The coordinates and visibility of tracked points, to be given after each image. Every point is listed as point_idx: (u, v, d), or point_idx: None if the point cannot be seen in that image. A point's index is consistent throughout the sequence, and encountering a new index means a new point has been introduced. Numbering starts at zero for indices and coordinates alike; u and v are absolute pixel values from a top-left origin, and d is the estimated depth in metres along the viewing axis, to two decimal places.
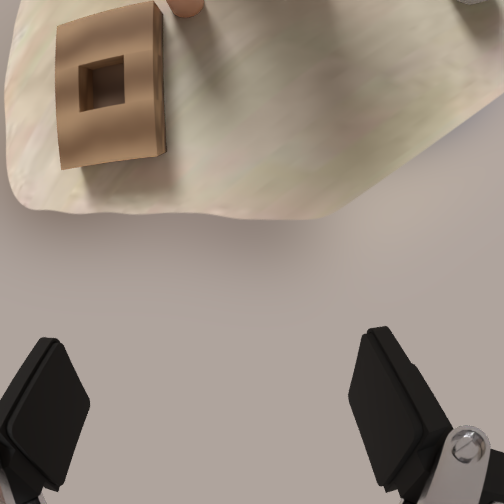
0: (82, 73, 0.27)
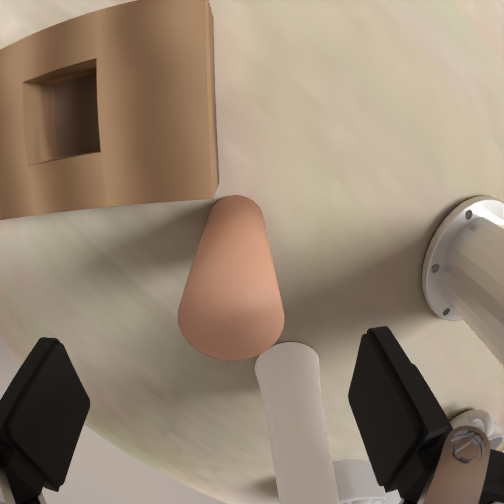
0: (92, 63, 0.14)
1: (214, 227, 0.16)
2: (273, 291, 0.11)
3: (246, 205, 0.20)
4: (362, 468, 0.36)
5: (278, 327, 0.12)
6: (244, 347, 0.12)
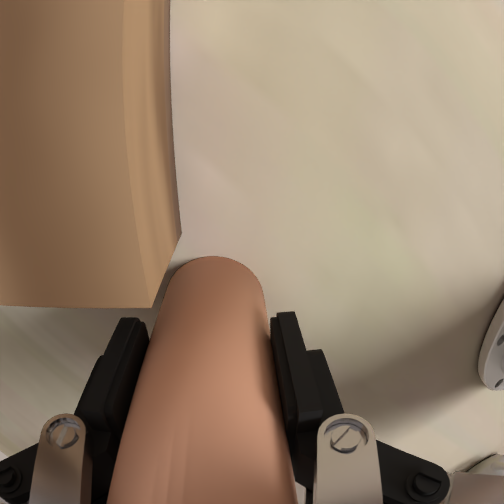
0: None
1: (155, 382, 0.06)
2: None
3: (231, 289, 0.10)
4: None
5: None
6: None
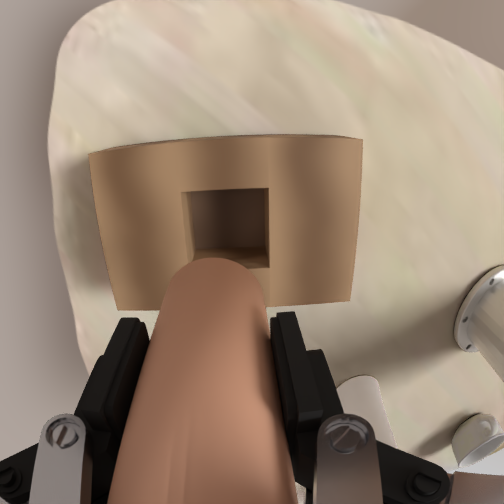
0: None
1: (155, 385, 0.06)
2: None
3: (231, 291, 0.10)
4: None
5: None
6: None
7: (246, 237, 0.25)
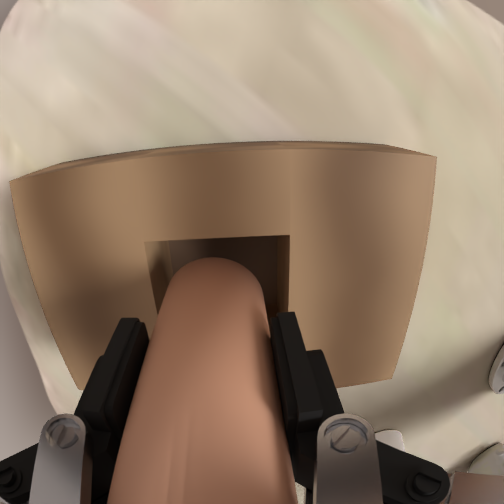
0: None
1: (155, 384, 0.06)
2: None
3: (231, 290, 0.10)
4: None
5: None
6: None
7: None
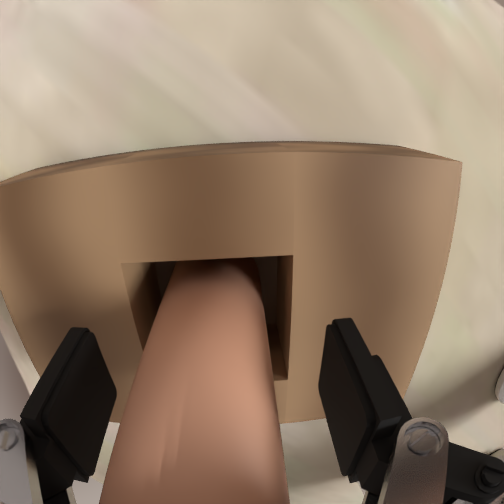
0: None
1: (165, 331, 0.08)
2: None
3: (230, 264, 0.12)
4: None
5: None
6: None
7: None
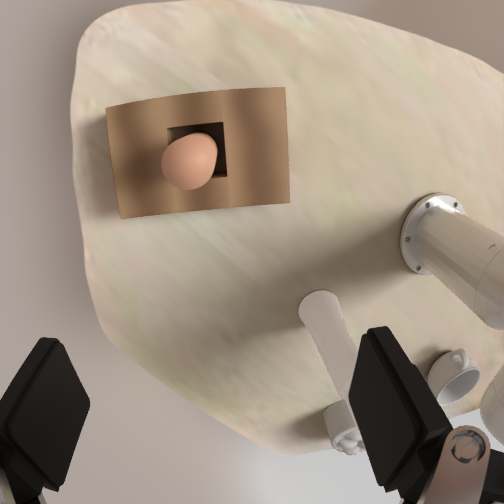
0: None
1: None
2: (207, 145, 0.22)
3: (204, 133, 0.31)
4: None
5: (211, 165, 0.23)
6: (195, 180, 0.23)
7: None
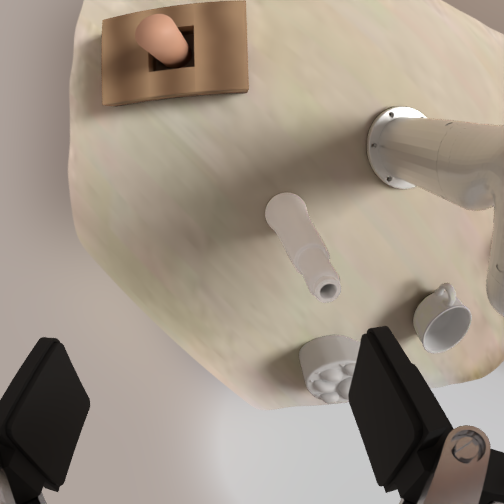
0: (188, 28, 0.31)
1: None
2: None
3: None
4: (351, 342, 0.53)
5: (172, 31, 0.23)
6: (159, 42, 0.24)
7: (187, 67, 0.35)
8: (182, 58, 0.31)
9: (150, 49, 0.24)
